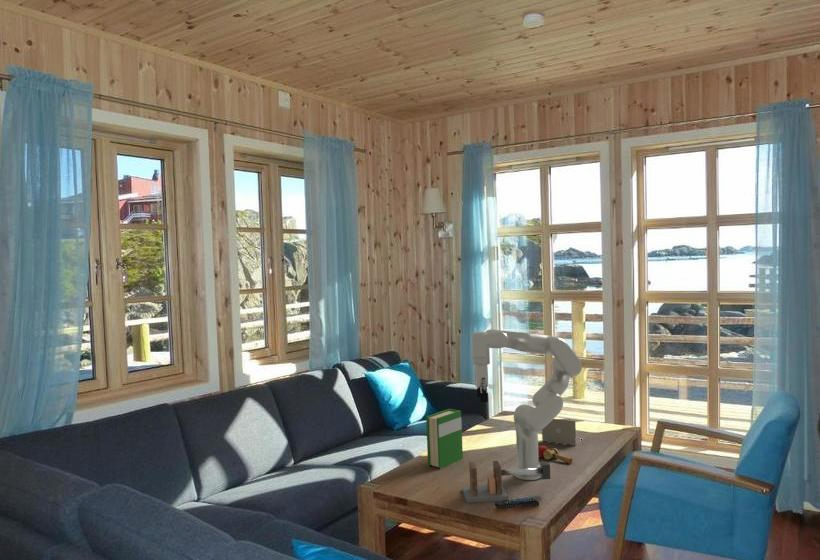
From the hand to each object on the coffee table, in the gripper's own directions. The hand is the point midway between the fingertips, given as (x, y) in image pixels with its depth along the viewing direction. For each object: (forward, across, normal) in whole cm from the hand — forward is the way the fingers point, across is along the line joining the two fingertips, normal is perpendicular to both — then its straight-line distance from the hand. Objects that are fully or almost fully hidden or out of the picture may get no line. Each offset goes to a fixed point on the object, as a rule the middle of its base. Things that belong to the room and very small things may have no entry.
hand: (482, 399), depth 273 cm
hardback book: (+37, -28, -15) cm, 48 cm away
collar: (+35, +15, 0) cm, 38 cm away
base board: (+36, +15, -2) cm, 39 cm away
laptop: (+37, -55, +49) cm, 82 cm away
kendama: (+37, -24, +37) cm, 57 cm away
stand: (+35, +15, -2) cm, 38 cm away
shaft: (+30, +15, +14) cm, 37 cm away
